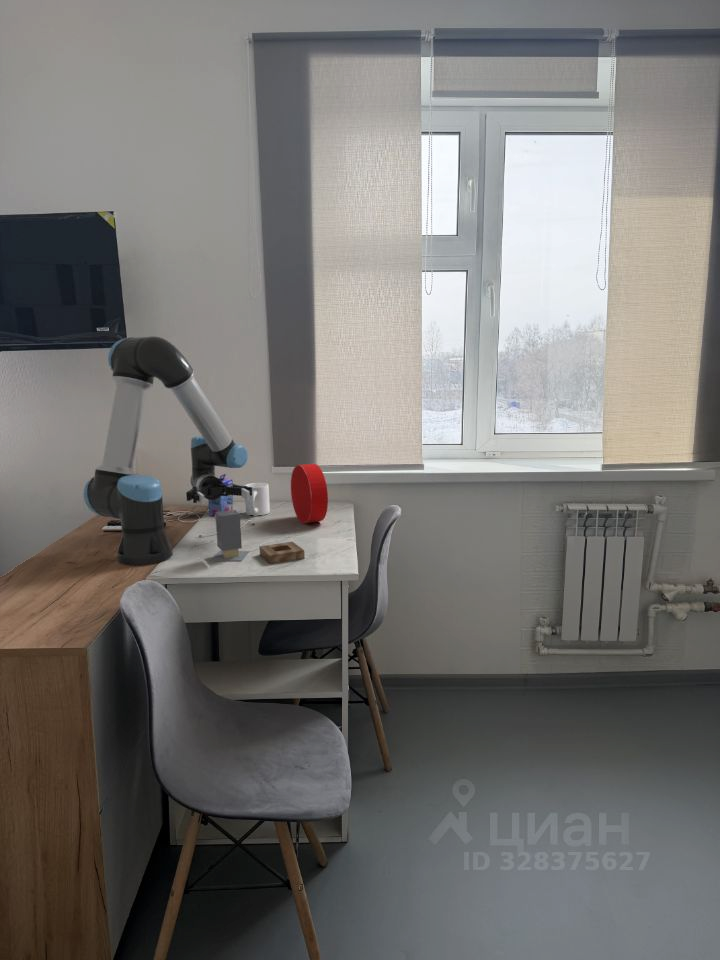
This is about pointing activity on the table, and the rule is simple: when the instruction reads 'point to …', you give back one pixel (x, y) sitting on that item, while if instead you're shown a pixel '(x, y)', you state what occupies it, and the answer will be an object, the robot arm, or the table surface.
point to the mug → (258, 499)
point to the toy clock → (309, 493)
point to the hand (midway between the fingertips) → (226, 498)
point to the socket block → (281, 552)
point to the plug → (228, 533)
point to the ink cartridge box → (222, 500)
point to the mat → (239, 558)
